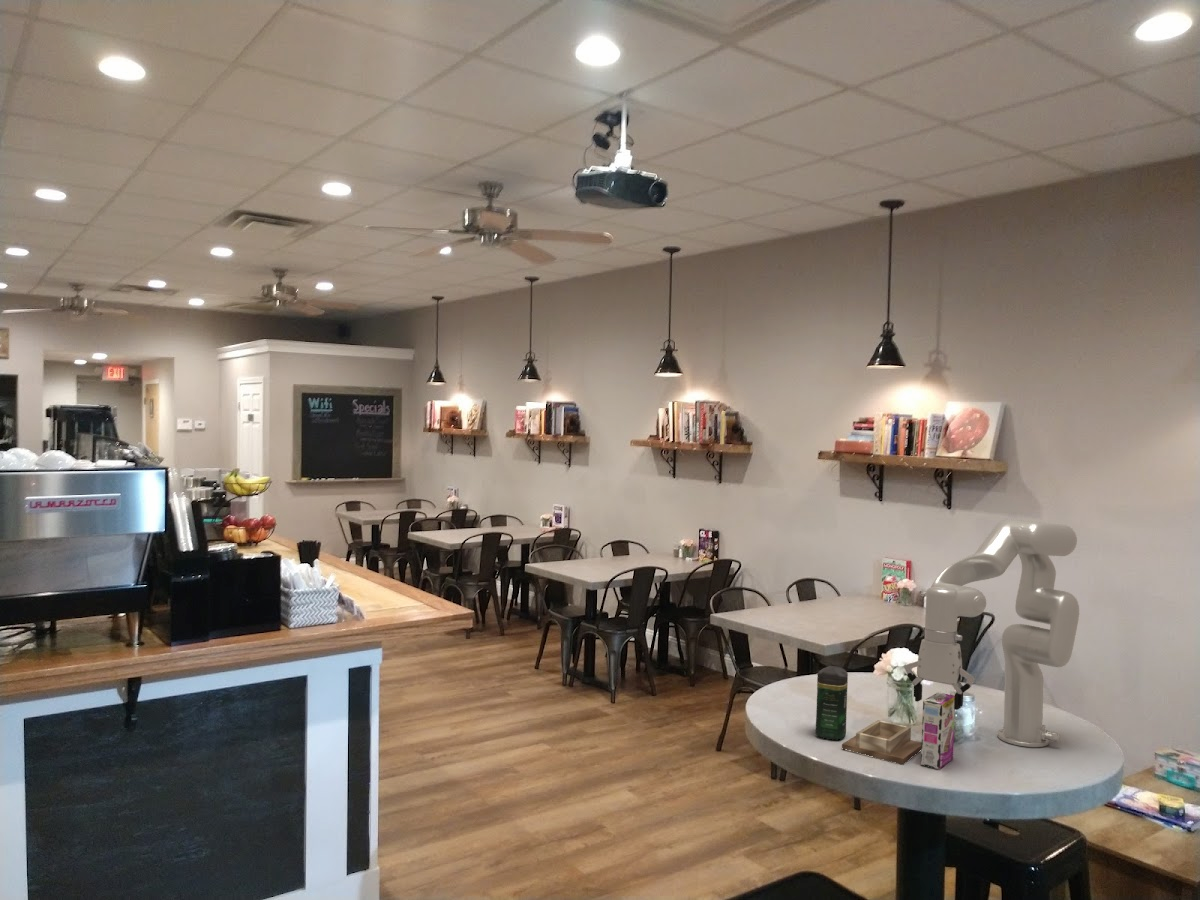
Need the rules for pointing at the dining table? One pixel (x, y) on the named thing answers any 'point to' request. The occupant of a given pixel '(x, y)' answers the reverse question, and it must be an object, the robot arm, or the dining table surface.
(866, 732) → the stand
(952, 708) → the candy bar box
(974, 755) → the dining table surface
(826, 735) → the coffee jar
